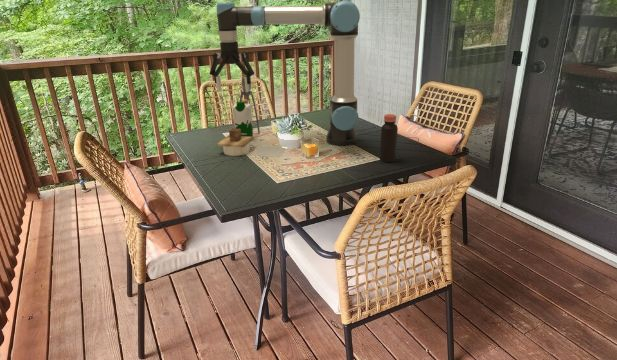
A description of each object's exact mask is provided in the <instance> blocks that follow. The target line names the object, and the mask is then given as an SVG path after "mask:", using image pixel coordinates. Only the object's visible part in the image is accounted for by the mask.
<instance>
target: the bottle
mask: <svg viewBox="0 0 617 360" xmlns="http://www.w3.org/2000/svg"><path fill="white" fill-rule="evenodd" d="M383 118H384V119H383V121H384V124H383V125H382V126H381V130H380V148H379V149H380V150H379V153H380V154H379V160H380V162H382V161H383V162H382V163H386V162H391V163H394V162H396V159H397V158H396V157H397V142H398V129H399V127H398V125H396V122H397V115H396V114H391V113H390V114H389V113H388V114H384V117H383ZM393 161H394V162H393Z"/></svg>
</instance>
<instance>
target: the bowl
mask: <svg viewBox="0 0 617 360" xmlns="http://www.w3.org/2000/svg"><path fill="white" fill-rule="evenodd" d="M250 147H251V146H250V143H248V144H247V145H246V146H245V147H229V146H222V148H223V149H222V150H223V154H224V155H226V156H231V157H233V156H234V157H237V156H243V155H246V154H249V153H250V151H251V150H250V149H251V148H250Z"/></svg>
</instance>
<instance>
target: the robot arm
mask: <svg viewBox="0 0 617 360" xmlns="http://www.w3.org/2000/svg"><path fill="white" fill-rule="evenodd" d="M216 16H217V17H216V18H217V27H218V35H219V41H220V43H219V44H220V45H219V46H220V53H219V52H215V53H214V59H213V61H212V65H211V68H210V71H209V75H211V76H213V77H214V83H215V84H216V89H217V92H221V91H222V80H221V75H219V74H220V73H221V72H222V70H223V69H224V67H225V65H229V64H230V65H235V66H237V67H238V68H239V70H240V71H241V72H242V73H243V74H244V76H246V77H245V88H246V92H249V91H251V90H250V88H249V84H251V85H252V80H251V79H252V78H251V77H252V76H254V75H255V71H254V69H253V68H252V65H251V63H250V62H249V60H248V58H247V53H245V52H242V53H240V52H239V42H238V30H237V27H254V26H255V27H258V26H260V27H261V26H264V25H322V26H323V27H327V28H329V27H330V37H331V39H333V42H334V43H333V44H334V45H333V47H334V53H333V55H334V61H333V62H334V64H333V65H334V67H333V68H334V95H331V96H330V98H329V127H328V131H327V134H326V136H325V137H326V140H325V141H326V142H327V143H328V144H330V145H334V146H350V145H354V144H355V143H357V141H358V137H357V132H356V130H355V126H356V125H357V123H358V122H359V113H358V97H356V96H355V40H356V38H357V37H358V36H359V23H360V18H361V15H360V10H359V8H358V6H357V4H355V3H354V2H352V1H350V0H340V1H336V2H327V3H323V4H322V5H278V6H277V5H273V6H272V5H266V6H264V5H262V6H261V5H260V6H259V5H258V6H257V5H251V6H236V4H235V2H233V1H222V2H221V1H220V2H219V1H218V2H217V3H216ZM220 59H222V61H220ZM240 59H241V60H240ZM219 61H220V63H219ZM242 62H243V63H242ZM218 64H219V66H218ZM243 64H244V65H243Z"/></svg>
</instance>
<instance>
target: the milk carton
mask: <svg viewBox="0 0 617 360" xmlns="http://www.w3.org/2000/svg"><path fill="white" fill-rule="evenodd" d="M252 115H253V113H252V103H250V104H249V103H245V101H243V100H242V101H240V100H239V101H237V102H236V104H234V105H233V106H232V116H233V126H234V129H241V136H248V137H254V129H253V128H254V127H253V126H254V125H253V116H252Z"/></svg>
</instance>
